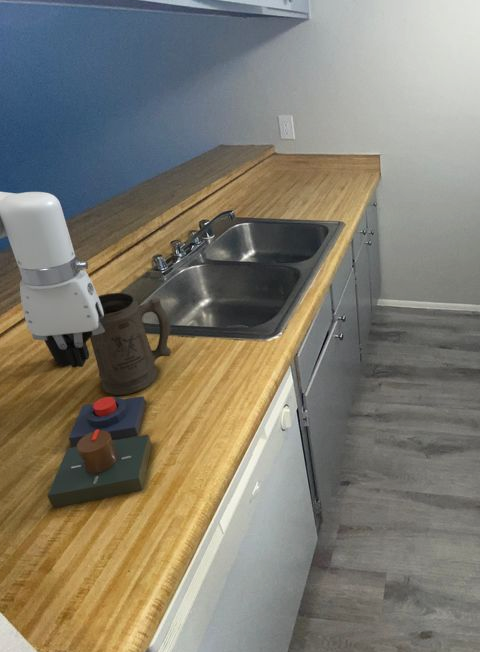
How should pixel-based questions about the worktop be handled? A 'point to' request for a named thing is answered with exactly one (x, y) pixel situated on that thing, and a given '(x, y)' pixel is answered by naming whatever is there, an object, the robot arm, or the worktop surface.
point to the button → (105, 406)
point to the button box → (110, 420)
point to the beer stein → (128, 344)
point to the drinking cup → (58, 353)
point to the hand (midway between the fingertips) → (80, 362)
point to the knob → (97, 451)
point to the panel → (101, 474)
